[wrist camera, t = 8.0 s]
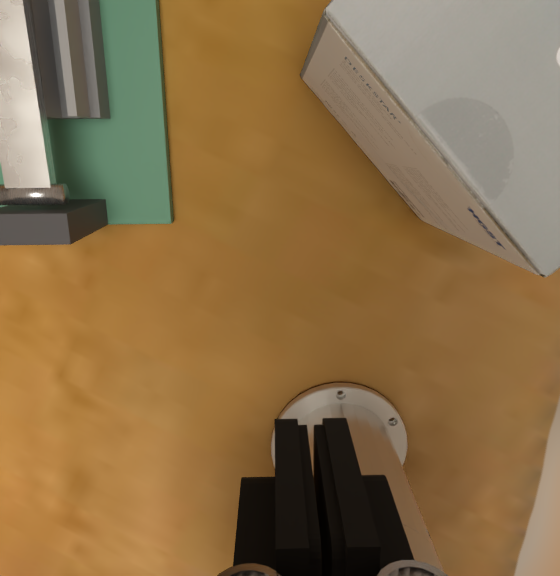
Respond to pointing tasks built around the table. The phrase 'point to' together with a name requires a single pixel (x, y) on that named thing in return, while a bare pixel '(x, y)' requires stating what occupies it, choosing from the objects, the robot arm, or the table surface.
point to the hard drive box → (454, 112)
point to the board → (99, 120)
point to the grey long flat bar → (24, 115)
